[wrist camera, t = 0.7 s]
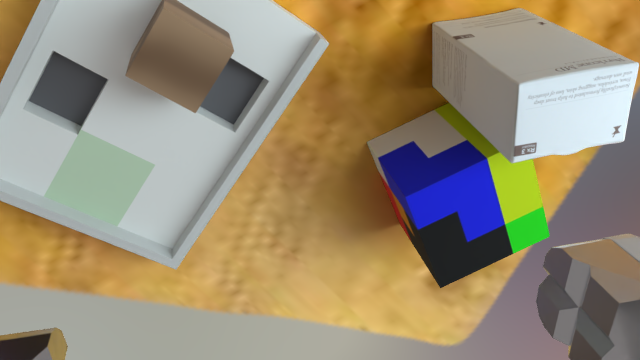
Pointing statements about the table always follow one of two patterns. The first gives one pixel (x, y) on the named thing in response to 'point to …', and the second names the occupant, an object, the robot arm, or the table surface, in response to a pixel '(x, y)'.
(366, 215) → the table surface
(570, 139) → the skincare box
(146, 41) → the walnut block
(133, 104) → the platform
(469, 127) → the puzzle toy
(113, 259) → the table surface
